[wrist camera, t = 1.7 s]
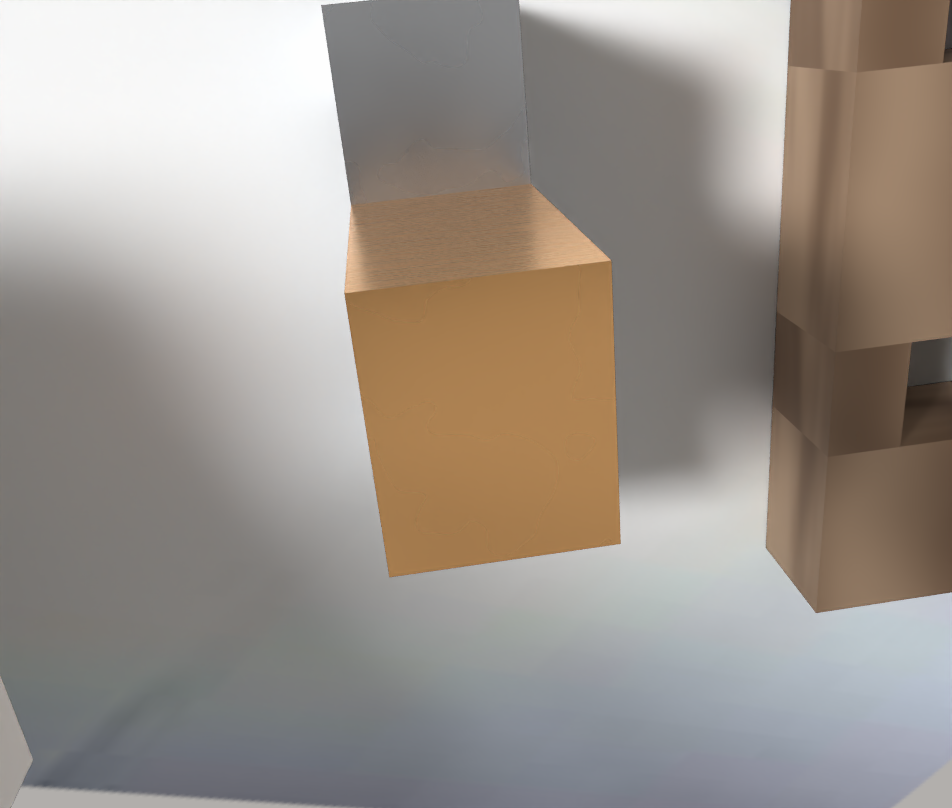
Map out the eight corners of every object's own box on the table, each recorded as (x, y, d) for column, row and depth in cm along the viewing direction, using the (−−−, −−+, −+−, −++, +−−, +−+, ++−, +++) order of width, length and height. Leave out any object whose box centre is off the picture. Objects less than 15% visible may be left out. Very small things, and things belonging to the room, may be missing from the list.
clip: (394, 437, 29) (417, 754, 17) (332, 10, 24) (297, -6, 11) (513, 421, 30) (626, 722, 17) (477, -5, 24) (601, -37, 12)
